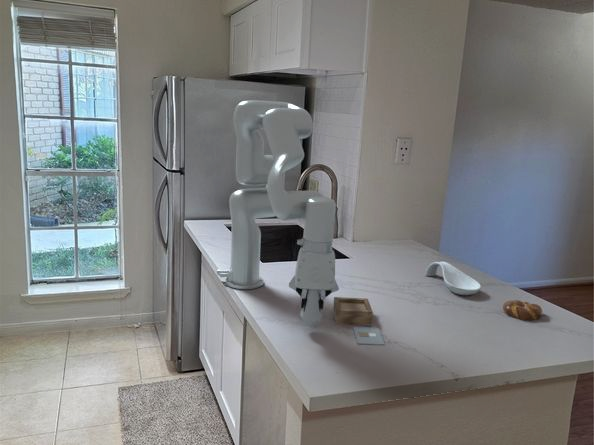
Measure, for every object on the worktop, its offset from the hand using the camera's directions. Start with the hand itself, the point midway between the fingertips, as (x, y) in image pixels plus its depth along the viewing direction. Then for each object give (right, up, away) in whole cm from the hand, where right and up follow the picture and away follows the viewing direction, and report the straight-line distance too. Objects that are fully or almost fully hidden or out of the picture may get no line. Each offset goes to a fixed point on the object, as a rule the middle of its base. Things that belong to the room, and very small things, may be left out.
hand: (311, 310), depth 137 cm
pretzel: (+66, -5, +23) cm, 70 cm away
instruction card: (+15, -7, +1) cm, 17 cm away
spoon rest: (+50, +1, +44) cm, 66 cm away
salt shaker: (0, -4, +1) cm, 4 cm away
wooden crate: (+12, -4, +13) cm, 18 cm away
